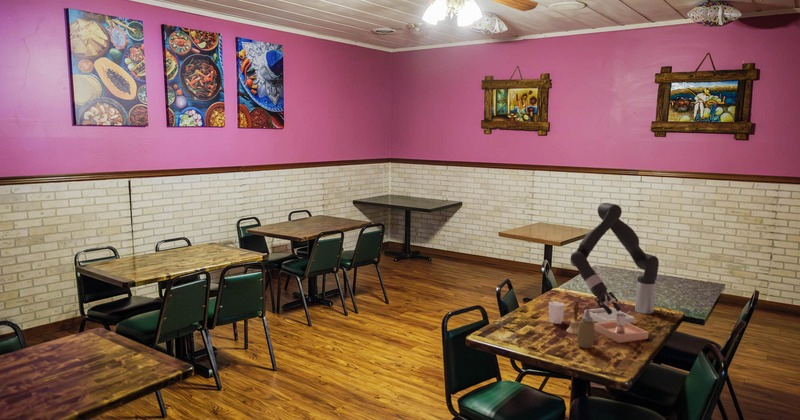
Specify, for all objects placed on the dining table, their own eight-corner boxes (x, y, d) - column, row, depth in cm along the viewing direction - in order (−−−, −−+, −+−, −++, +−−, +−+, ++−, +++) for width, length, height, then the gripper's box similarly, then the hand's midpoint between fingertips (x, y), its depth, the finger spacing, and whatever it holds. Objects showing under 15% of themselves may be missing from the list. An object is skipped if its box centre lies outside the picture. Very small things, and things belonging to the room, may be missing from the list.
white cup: (563, 320, 303) (564, 302, 302) (562, 325, 296) (564, 306, 294) (548, 318, 306) (549, 300, 304) (547, 323, 298) (548, 304, 297)
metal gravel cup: (620, 330, 286) (621, 313, 285) (626, 333, 282) (627, 315, 281) (613, 331, 285) (614, 313, 284) (619, 334, 281) (620, 316, 279)
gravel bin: (610, 313, 317) (610, 307, 317) (633, 323, 300) (634, 317, 300) (584, 316, 311) (584, 310, 310) (606, 326, 294) (607, 320, 294)
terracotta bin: (621, 326, 295) (622, 320, 295) (647, 338, 278) (648, 331, 278) (593, 330, 289) (594, 323, 288) (618, 342, 272) (619, 335, 272)
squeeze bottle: (573, 343, 270) (576, 307, 267) (589, 343, 271) (592, 306, 268) (580, 349, 262) (582, 312, 259) (597, 349, 263) (599, 312, 260)
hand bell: (564, 328, 290) (566, 298, 288) (580, 329, 290) (582, 299, 288) (568, 334, 282) (570, 303, 280) (585, 335, 282) (587, 304, 279)
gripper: (593, 283, 285) (613, 311, 278) (608, 279, 294) (627, 305, 287) (583, 291, 290) (602, 318, 283) (598, 286, 299) (616, 313, 292)
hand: (615, 312), depth 285 cm, fingers open, 8 cm apart
